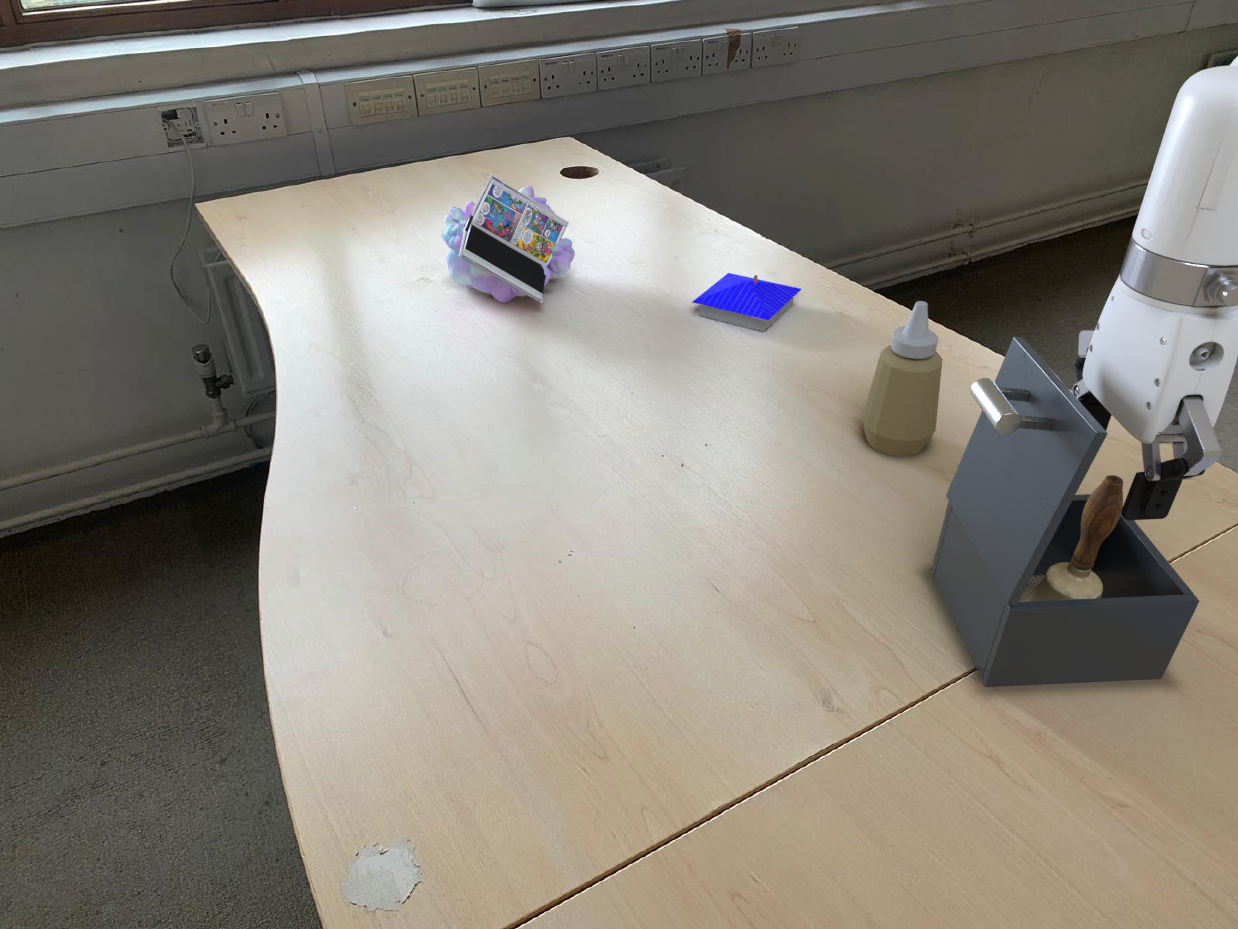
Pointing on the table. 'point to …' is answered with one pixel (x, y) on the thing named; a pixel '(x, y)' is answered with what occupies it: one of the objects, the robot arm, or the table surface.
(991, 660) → the grey storage bin
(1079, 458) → the bin lid
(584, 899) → the table surface
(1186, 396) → the robot arm
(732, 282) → the roof
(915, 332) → the squeeze bottle
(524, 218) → the pastel cloud comic display
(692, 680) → the table surface
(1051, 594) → the hand bell
